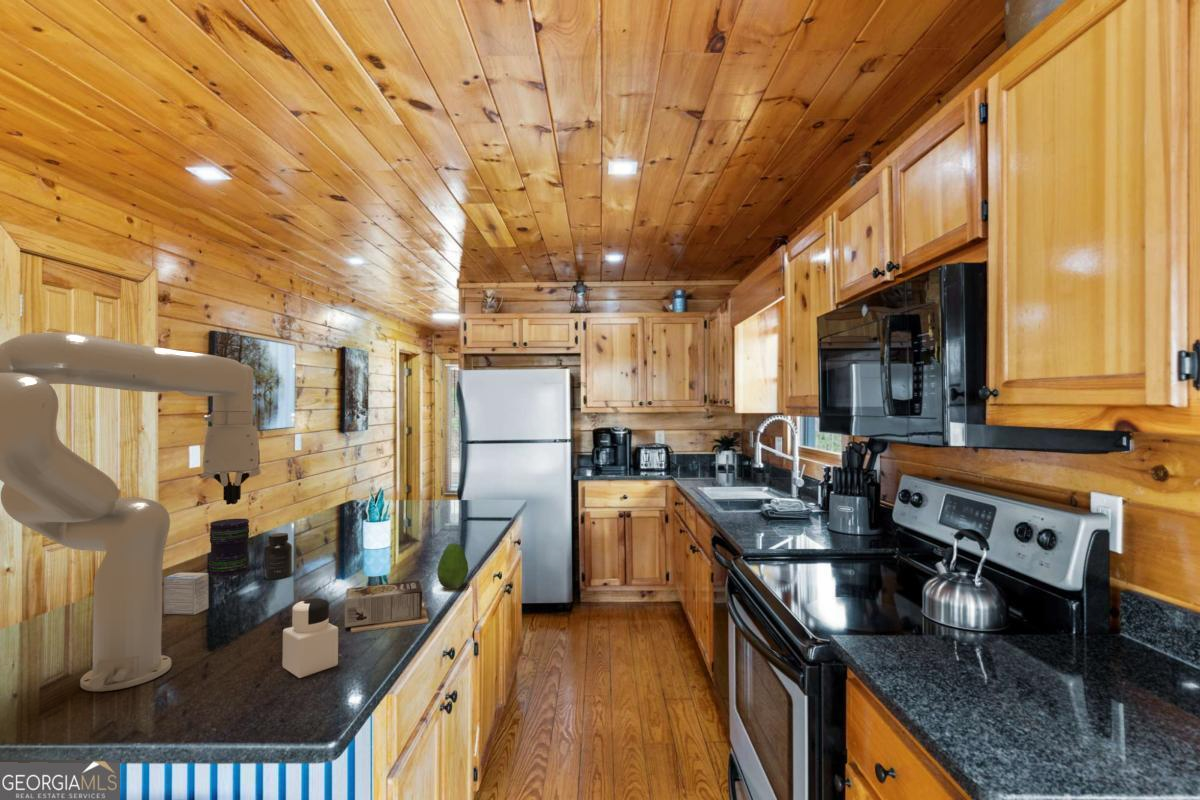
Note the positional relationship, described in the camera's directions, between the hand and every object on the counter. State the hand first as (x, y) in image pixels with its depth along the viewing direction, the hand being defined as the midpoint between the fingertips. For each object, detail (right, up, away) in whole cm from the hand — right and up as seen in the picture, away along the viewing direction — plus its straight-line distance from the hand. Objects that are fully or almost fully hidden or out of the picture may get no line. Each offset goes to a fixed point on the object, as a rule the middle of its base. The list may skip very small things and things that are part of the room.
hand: (232, 503), depth 127 cm
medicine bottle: (+27, -27, -20) cm, 43 cm away
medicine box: (-17, -28, +10) cm, 34 cm away
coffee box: (+24, -23, +1) cm, 34 cm away
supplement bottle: (-12, -28, +39) cm, 49 cm away
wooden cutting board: (+31, -27, +9) cm, 42 cm away
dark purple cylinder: (-28, -28, +43) cm, 59 cm away
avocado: (+41, -28, +28) cm, 57 cm away
